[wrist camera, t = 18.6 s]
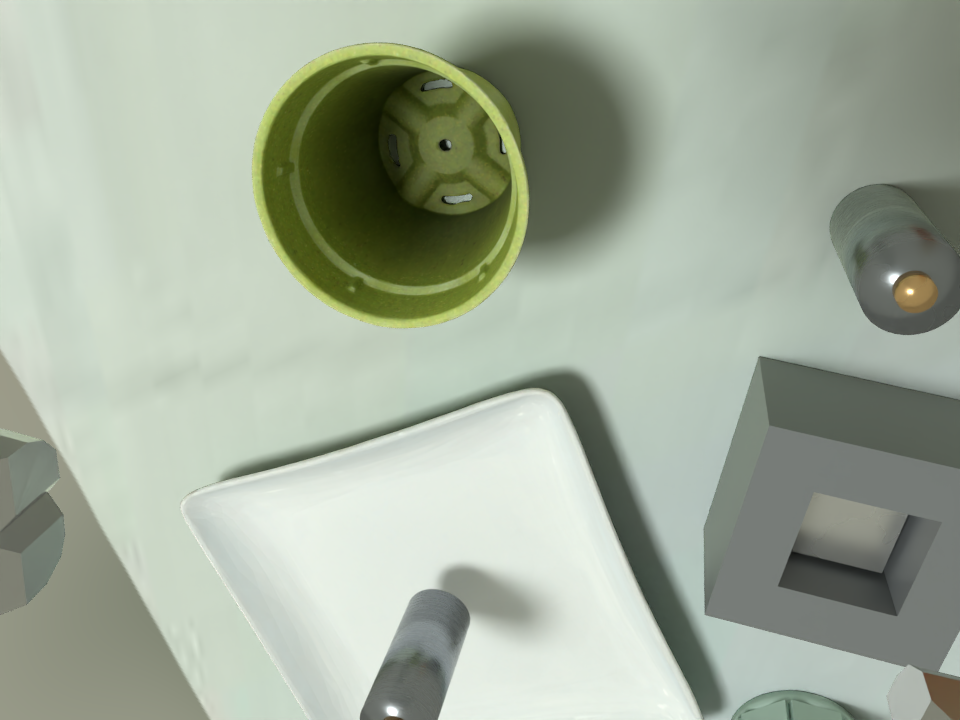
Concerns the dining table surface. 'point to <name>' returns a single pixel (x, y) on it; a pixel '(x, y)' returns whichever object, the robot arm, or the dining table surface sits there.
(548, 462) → the salad plate
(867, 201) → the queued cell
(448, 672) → the cell
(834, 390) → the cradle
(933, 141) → the dining table surface
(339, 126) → the plant pot
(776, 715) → the cup
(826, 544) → the plunger
